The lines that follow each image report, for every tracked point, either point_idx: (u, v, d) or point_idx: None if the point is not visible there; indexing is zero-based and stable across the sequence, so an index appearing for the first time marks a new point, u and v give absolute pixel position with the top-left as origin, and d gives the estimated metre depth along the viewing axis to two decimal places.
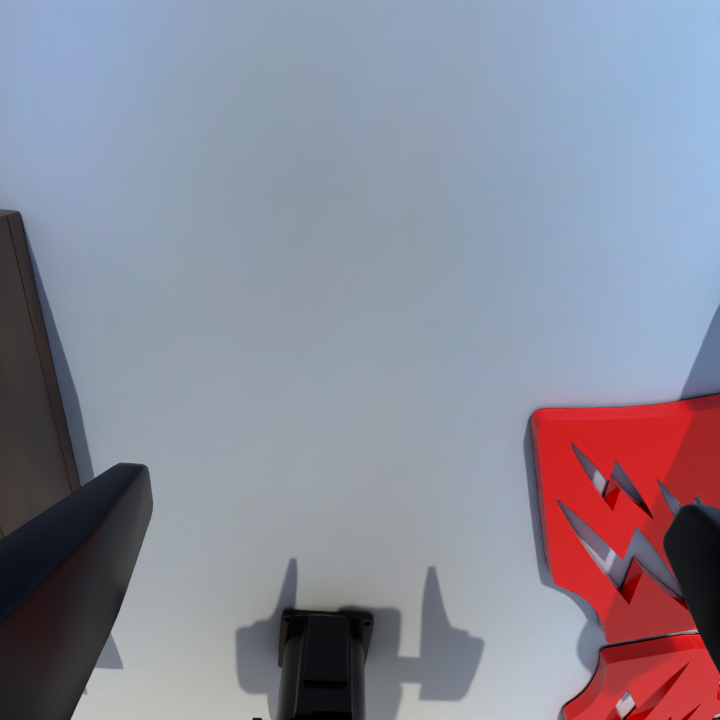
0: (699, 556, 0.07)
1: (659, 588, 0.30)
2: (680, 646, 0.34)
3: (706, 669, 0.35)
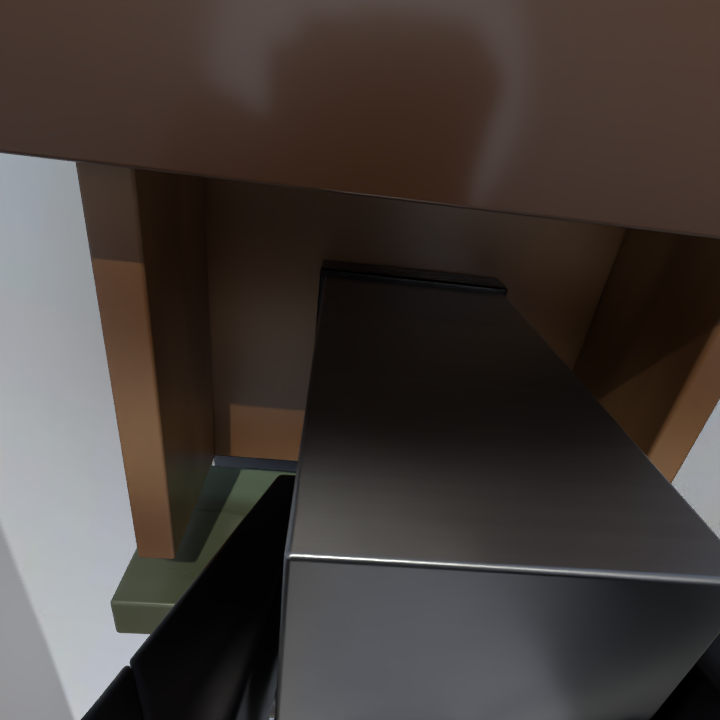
0: None
1: None
2: None
3: None
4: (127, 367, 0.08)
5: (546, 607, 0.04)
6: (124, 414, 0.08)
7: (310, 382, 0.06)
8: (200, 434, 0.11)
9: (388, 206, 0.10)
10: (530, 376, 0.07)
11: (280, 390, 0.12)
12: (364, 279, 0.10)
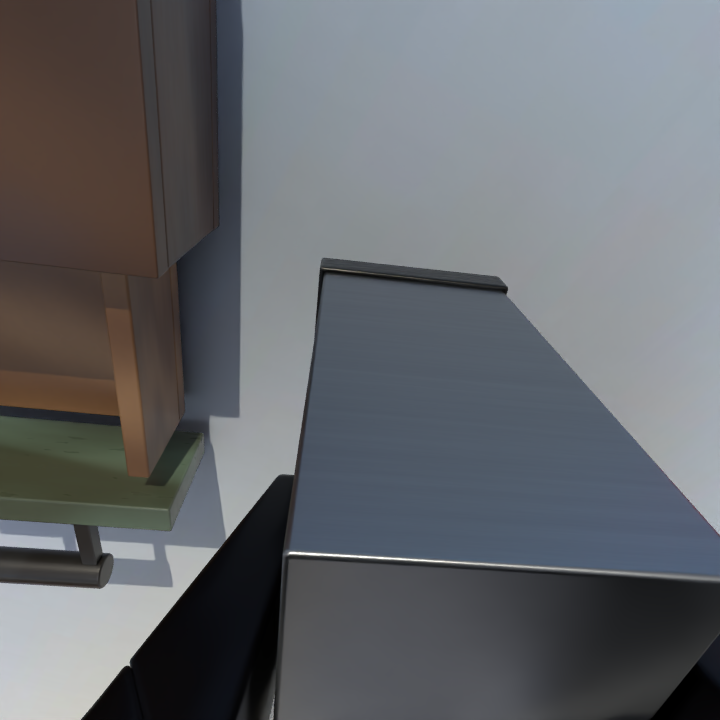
0: None
1: None
2: None
3: None
4: None
5: (546, 605, 0.04)
6: None
7: (309, 380, 0.06)
8: None
9: None
10: (530, 374, 0.07)
11: None
12: (363, 277, 0.10)
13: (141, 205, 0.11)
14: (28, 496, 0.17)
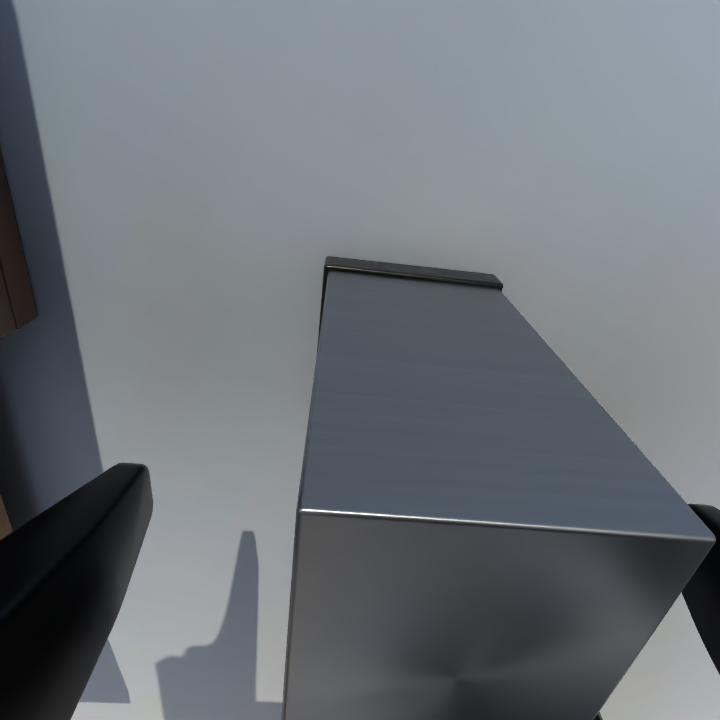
0: None
1: None
2: None
3: None
4: None
5: (527, 560, 0.04)
6: None
7: (316, 367, 0.06)
8: None
9: None
10: (521, 363, 0.07)
11: None
12: (365, 275, 0.10)
13: None
14: None
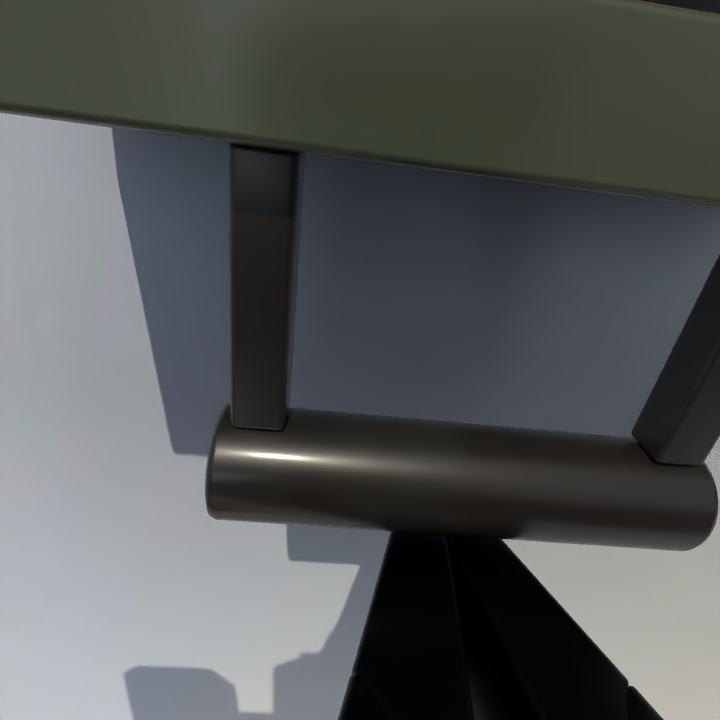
0: None
1: None
2: None
3: None
4: None
5: None
6: None
7: None
8: None
9: None
10: None
11: None
12: None
13: None
14: None
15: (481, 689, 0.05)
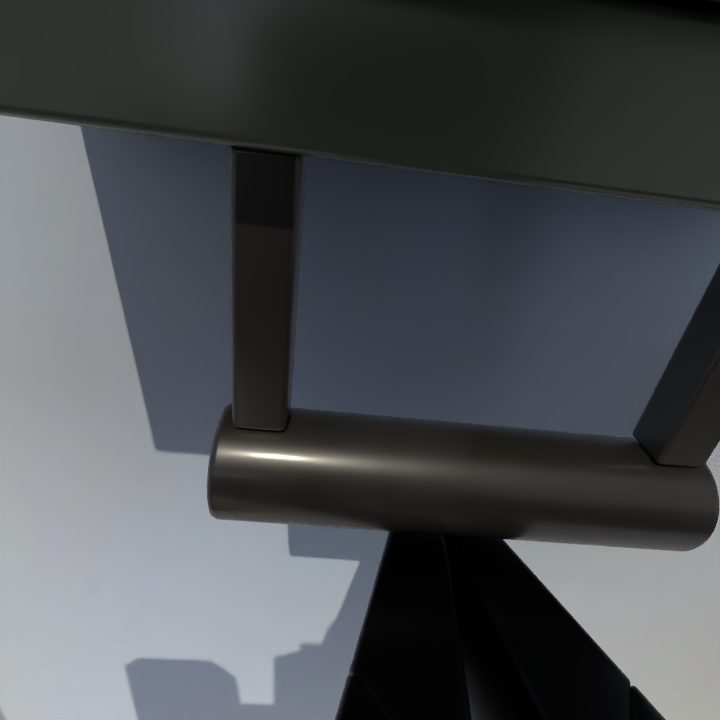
0: None
1: None
2: None
3: None
4: None
5: None
6: None
7: None
8: None
9: None
10: None
11: None
12: None
13: None
14: None
15: (483, 689, 0.05)
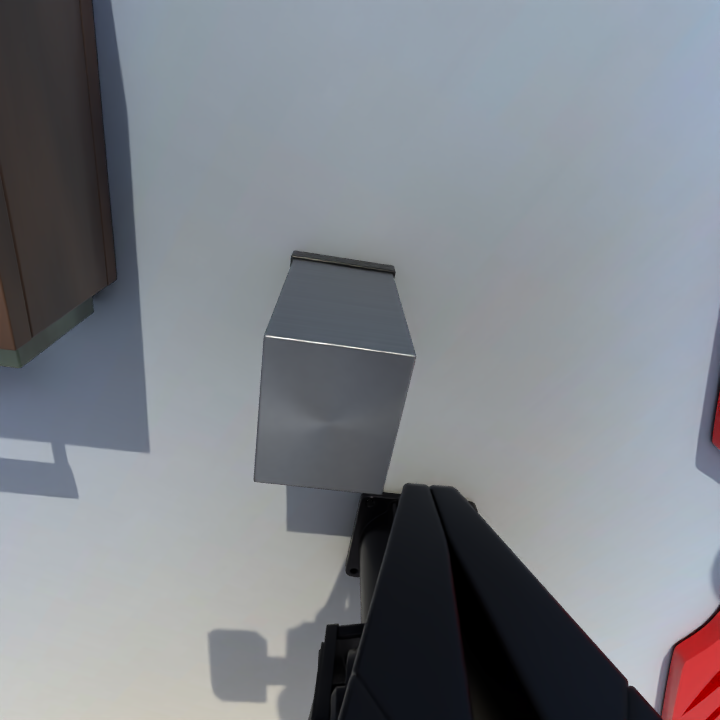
0: None
1: None
2: None
3: None
4: None
5: (348, 361, 0.12)
6: None
7: (278, 299, 0.14)
8: None
9: None
10: (379, 305, 0.15)
11: None
12: (314, 262, 0.18)
13: None
14: None
15: (481, 689, 0.05)
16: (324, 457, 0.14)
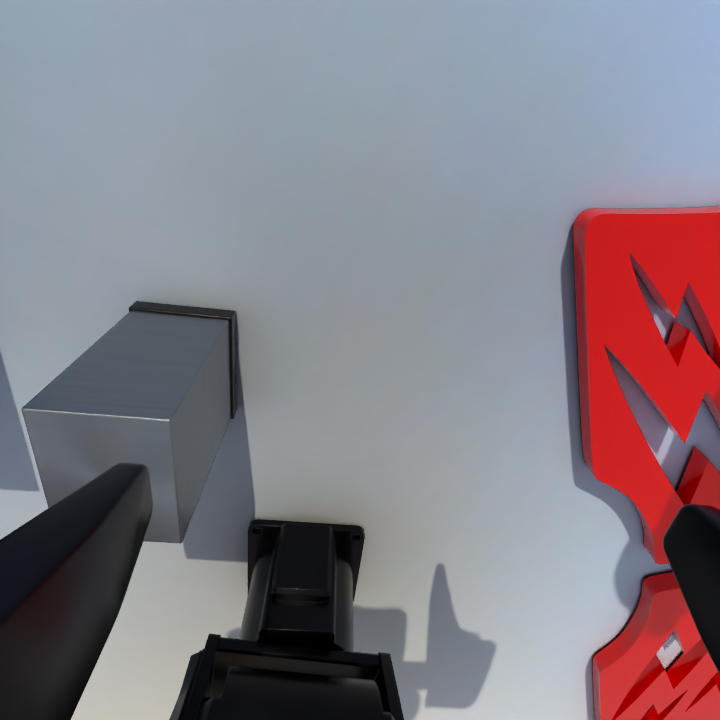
0: (699, 556, 0.07)
1: None
2: None
3: None
4: None
5: (107, 428, 0.13)
6: None
7: (72, 363, 0.15)
8: None
9: None
10: (179, 361, 0.16)
11: None
12: (151, 313, 0.19)
13: None
14: None
15: None
16: None
